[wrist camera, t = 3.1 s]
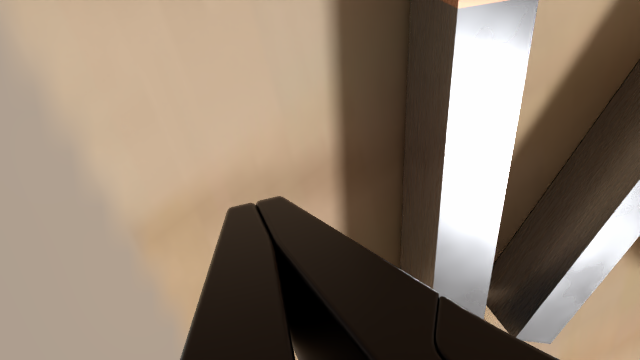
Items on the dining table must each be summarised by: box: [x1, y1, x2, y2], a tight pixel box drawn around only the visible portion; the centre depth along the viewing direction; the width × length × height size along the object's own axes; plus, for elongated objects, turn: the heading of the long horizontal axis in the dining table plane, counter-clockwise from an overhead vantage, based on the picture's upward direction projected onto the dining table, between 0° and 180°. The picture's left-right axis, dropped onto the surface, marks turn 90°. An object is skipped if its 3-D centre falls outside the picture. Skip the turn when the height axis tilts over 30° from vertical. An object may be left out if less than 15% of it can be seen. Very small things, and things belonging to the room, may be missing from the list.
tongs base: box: [484, 60, 640, 344], centre depth 21 cm, size 23×5×4 cm, turn 154°
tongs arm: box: [400, 0, 538, 320], centre depth 17 cm, size 17×2×3 cm, turn 4°
